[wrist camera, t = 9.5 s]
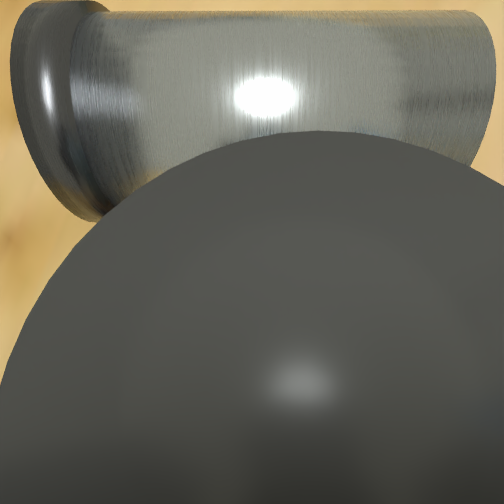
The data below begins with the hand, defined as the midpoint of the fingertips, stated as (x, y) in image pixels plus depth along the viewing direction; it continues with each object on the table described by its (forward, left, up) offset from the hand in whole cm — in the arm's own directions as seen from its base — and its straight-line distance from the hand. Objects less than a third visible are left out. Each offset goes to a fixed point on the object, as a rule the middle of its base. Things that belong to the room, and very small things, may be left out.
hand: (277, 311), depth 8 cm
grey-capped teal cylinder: (-1, 0, -7) cm, 7 cm away
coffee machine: (+2, -1, -9) cm, 10 cm away
